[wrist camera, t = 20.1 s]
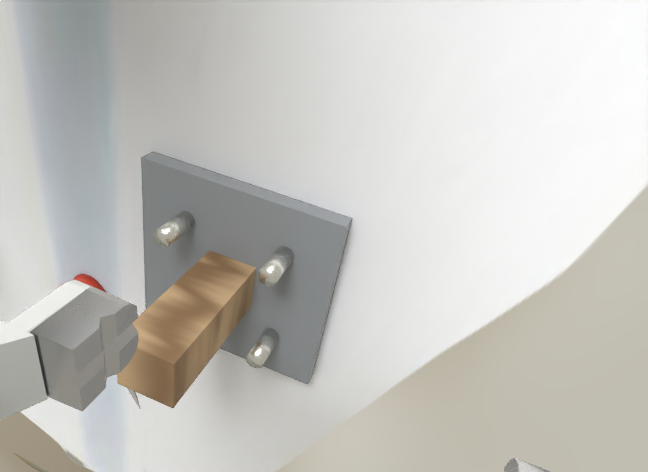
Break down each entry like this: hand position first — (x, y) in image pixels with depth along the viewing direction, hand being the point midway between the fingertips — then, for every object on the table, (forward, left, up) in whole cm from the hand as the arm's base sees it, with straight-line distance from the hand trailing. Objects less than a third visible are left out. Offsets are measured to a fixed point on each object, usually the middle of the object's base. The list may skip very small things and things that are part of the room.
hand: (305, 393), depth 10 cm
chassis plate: (-13, -19, -25) cm, 34 cm away
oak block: (-13, -19, -24) cm, 33 cm away
